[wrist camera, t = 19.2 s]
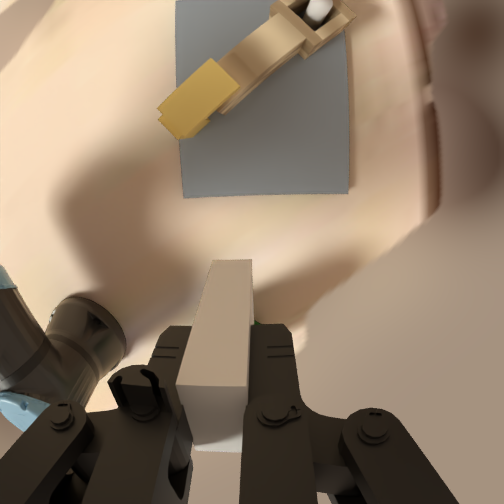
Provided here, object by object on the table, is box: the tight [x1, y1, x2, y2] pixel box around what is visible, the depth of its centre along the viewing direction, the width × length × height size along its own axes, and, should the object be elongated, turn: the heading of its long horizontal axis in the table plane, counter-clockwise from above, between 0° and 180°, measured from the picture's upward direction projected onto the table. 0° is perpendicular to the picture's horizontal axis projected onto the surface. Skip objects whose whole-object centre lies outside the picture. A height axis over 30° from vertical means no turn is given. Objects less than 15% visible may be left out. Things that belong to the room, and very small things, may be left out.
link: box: [216, 0, 356, 115], centre depth 29 cm, size 18×6×7 cm, turn 133°
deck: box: [157, 0, 349, 198], centre depth 30 cm, size 21×27×11 cm
